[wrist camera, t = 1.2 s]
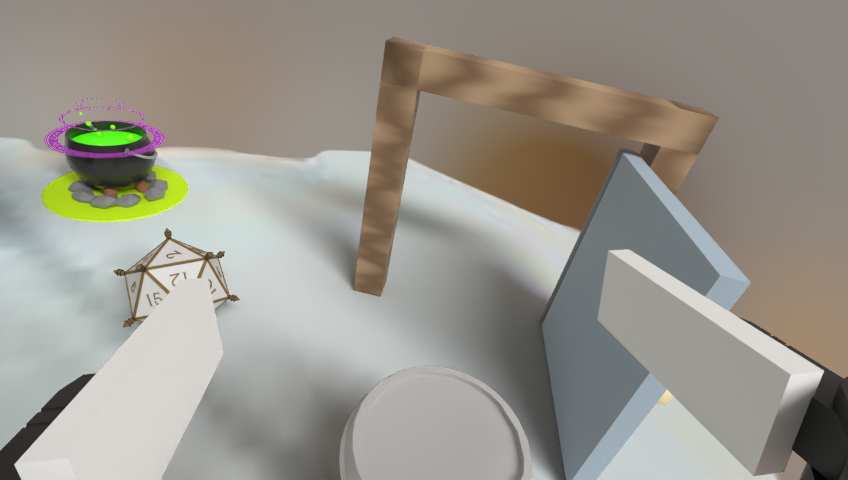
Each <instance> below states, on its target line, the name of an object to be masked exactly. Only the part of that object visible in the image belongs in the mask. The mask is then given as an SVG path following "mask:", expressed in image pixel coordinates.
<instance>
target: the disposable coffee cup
mask: <svg viewBox="0 0 848 480" xmlns="http://www.w3.org/2000/svg"><path fill="white" fill-rule="evenodd" d="M339 467H340V476H341V480H533V472H532V459H531V453H530V448H529V444H528V439H527V437H526V435H525V432H524V430H523V428H522V426H521V424H520V421H519V420H518V418H517V417H516V415H515V414H514V412H513V411H512V409H511V408H510V406H509V405H508V404H507V403H506V402H505V401H504V400H503V399H502V398H501V397H500V396H499V395H498V394H497V393H496V392H495V391H494V390H492V389H491V388H490V387H489V386H487V385H486V384H485V383H483V382H481V381H480V380H478V379H476V378H474V377H472V376H470V375H468V374H466V373H463V372H461V371H457V370H454V369H450V368H446V367H439V366H420V367H412V368H409V369H405V370H401V371H398V372H397V373H395V374H393V375H391V376H389V377H387V378H386V379H384V380H382V381H381V382H379V383H378V384H377V385H376V386H375V387H374V388H373V389H372V390H371V391H370V392H369V393H368V394H367V395H366V396H365V397H364V398H363V399H362V400H361V401H360V402H359V403H358V405H357V406H356V407H355V408H354V410H353V411H352V413H351V415H350V417H349V419H348V421H347V423H346V425H345V428H344V431H343V435H342V438H341V444H340V453H339Z"/></svg>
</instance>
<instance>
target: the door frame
mask: <svg viewBox="0 0 848 480" xmlns="http://www.w3.org/2000/svg"><path fill="white" fill-rule="evenodd" d="M420 91H424V92H428V93H433V94H437V95H441V96H445V97H450V98H454V99H458V100H463V101H467V102H471V103H476V104H480V105H485V106H489V107H493V108H497V109H502V110H506V111H510V112H515V113H519V114H523V115H528V116H532V117H537V118H541V119H545V120H549V121H554V122H558V123H562V124H567V125H571V126H575V127H580V128H584V129H589V130H593V131H598V132H601V133H606V134H610V135H615V136H619V137H623V138H627V139H632V140H636V141H640V142H645V144H644V146H643V148H642V150H641V152H640V154H639V156H638V157H641V158H642V159H643V160H644V162H645V163H646V164H647V165H648V166H649V167H650V168H651V170H652V171H653V172H654V173H655V174H656V175H657V176H658V177H659V179H660V180H661V181H662V182H663V183H664V184H665V185H666V187H667V188H668V189H669V190H670V191H671V192H672V193H673V195H675V194H676V192H677V190H678V188H679V187H680V185H681V183H682V182H683V180H684V178H685V176H686V175H687V173H688V171H689V169H690V168H691V166H692V164H693V162H694V161H695V159H696V157H697V156H698V154H699V152H700V150H701V149H702V147H703V145H704V143H705V142H706V140H707V138H708V136H709V135H710V133H711V131H712V129H713V128H714V126H715V124H716V122H717V121H718V119H719V118H718V117H717V116H715V115H713V114H712V113H710V112H708V111H706V110H705V109H703V108H700V107H696V106H691V105H687V104H682V103H678V102H674V101H670V100H665V99H661V98H657V97H652V96H648V95H644V94H639V93H635V92H630V91H626V90H622V89H617V88H613V87H609V86H604V85H600V84H596V83H591V82H587V81H582V80H578V79H574V78H569V77H565V76H560V75H557V74H552V73H548V72H543V71H539V70H535V69H530V68H526V67H522V66H517V65H513V64H508V63H504V62H500V61H496V60H491V59H487V58H483V57H478V56H474V55H470V54H465V53H461V52H457V51H452V50H448V49H444V48H439V47H435V46H430V45H426V44H422V43H417V42H413V41H409V40H404V39H400V38H396V37H392V38H391V39H389V40H387V41H386V43H385V51H384V58H383V67H382V74H381V83H380V90H379V98H378V105H377V113H376V120H375V129H374V137H373V143H372V151H371V159H370V167H369V174H368V182H367V190H366V198H365V205H364V213H363V221H362V228H361V236H360V244H359V252H358V259H357V267H356V275H355V283H354V290H355V291H360V292H364V293H368V294H372V295H377V296H381V293H382V291H383V288H384V285H385V282H386V278H387V272H388V267H389V261H390V256H391V250H392V245H393V239H394V234H395V228H396V223H397V217H398V212H399V206H400V201H401V195H402V190H403V184H404V179H405V173H406V167H407V162H408V156H409V151H410V145H411V139H412V134H413V129H414V123H415V118H416V112H417V106H418V101H419V95H420Z"/></svg>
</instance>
